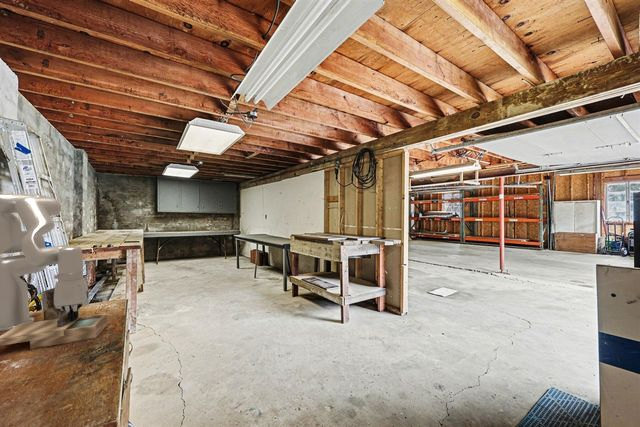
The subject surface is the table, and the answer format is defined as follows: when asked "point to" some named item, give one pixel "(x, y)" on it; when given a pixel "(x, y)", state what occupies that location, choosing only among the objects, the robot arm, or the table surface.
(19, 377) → the table surface
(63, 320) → the light brown flat piece
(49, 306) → the coffee box
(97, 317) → the base
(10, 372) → the table surface
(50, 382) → the table surface
